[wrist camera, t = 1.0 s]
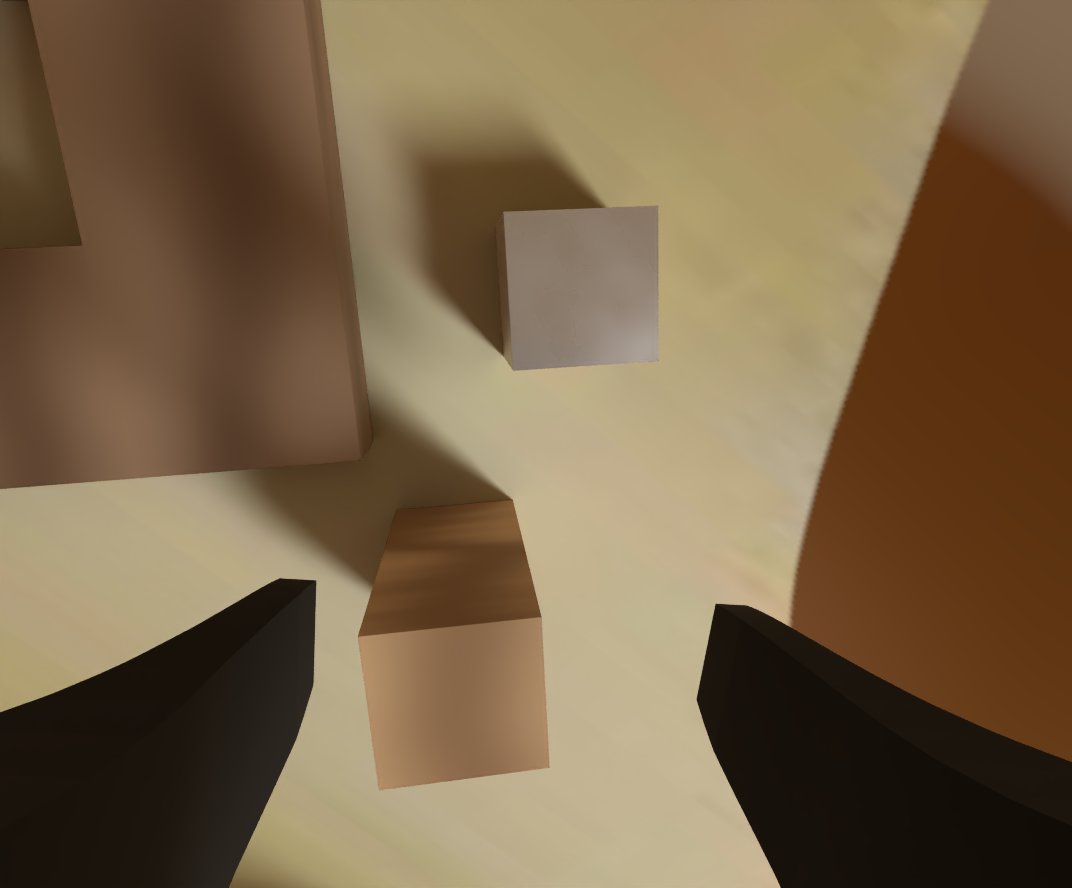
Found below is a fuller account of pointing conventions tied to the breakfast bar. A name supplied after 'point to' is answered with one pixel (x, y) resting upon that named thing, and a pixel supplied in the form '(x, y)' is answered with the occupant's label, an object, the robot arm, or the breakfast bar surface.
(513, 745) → the oak pin
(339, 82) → the breakfast bar surface
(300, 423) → the hole plate
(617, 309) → the steel stub
